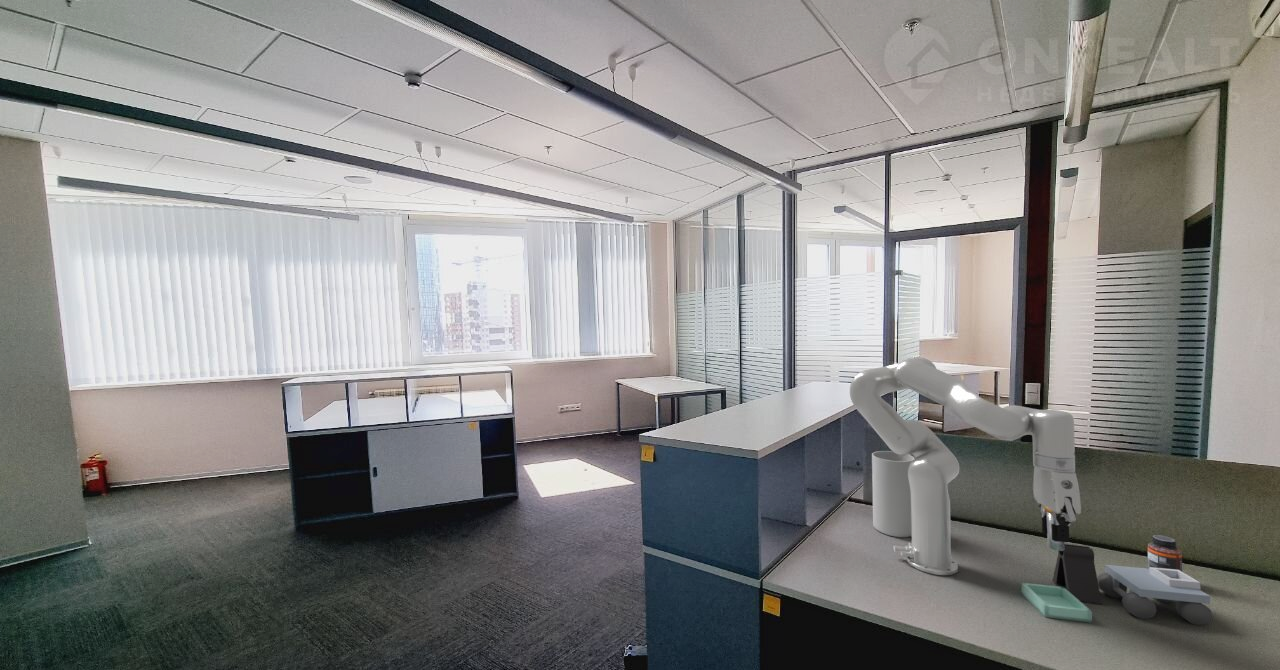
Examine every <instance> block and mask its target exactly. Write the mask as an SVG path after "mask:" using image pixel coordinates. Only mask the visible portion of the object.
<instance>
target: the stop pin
mask: <svg viewBox="0 0 1280 670" xmlns="http://www.w3.org/2000/svg"><path fill="white" fill-rule="evenodd" d="M1044 510H1045V511H1046V512H1047V534H1046V536H1047V548H1049V549H1051V550H1054V551H1064V550H1065V546H1064V544H1065V542H1057V541H1053V540H1052V530H1051V524H1054V523H1053V512H1052V510H1050V509H1048V508H1047V507H1045V506H1044ZM1061 512H1064V510H1061ZM1061 516H1062V517H1063V516H1064V515H1058V517H1059V518H1060V517H1061Z"/></svg>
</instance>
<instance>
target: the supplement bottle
mask: <svg viewBox="0 0 1280 670" xmlns="http://www.w3.org/2000/svg"><path fill="white" fill-rule="evenodd" d="M1149 567H1153V568H1164V569H1175V570H1180V571H1181V572H1183V555H1182V550H1180V548H1178V547H1177V543H1176V539H1174V538H1172V537H1170V536H1166V535H1161V534H1160V535H1159V534H1154V535H1152V542H1149V543H1148V544H1147V569H1149Z"/></svg>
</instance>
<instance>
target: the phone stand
mask: <svg viewBox="0 0 1280 670" xmlns="http://www.w3.org/2000/svg"><path fill="white" fill-rule="evenodd" d="M1064 546H1065V550H1064V551H1058V553H1057V558H1056V564H1055V567H1054V571H1053V572H1054V573H1053V575H1052V576H1053V577H1052V582H1053V583H1054V584H1055V586H1058V587H1064V588H1065V589H1066V590H1068V591H1069V592H1070V593H1071V594H1072V595H1073V596H1075V597H1076V598H1077V599H1078V600H1079V601H1080V602H1081V603H1087V602H1088V603H1089V604H1095V605H1102V604H1103V603H1102V598H1101V592H1100V591H1101V590H1100V589H1099V585H1098V580H1097V577H1098V575H1097V571H1096V564H1095V552H1094V550H1093V548H1091V547H1090V546H1086V545H1084V546H1083V545H1074V544H1068V543H1064Z"/></svg>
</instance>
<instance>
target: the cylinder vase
mask: <svg viewBox="0 0 1280 670" xmlns="http://www.w3.org/2000/svg"><path fill="white" fill-rule="evenodd" d="M914 459H915V457H914V456H913V455H912V454H910V455H906V456H902V455H898V454H896V453H894V452H893V451H892V450H880V451H879V450H878V451H874V452H872V453H871V470H872V471H871V472H872V473H871V476H872V478H871V479H872V483H871V484H872V525H873V528H874V529H875V530H877V531H878V532H880V533H882V534H884V535H887V536H891V537H895V538H910V537H912V528H911V492H910V485H909V479H908V468H909V465H910V463H911V462H912V461H913V460H914Z"/></svg>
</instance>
